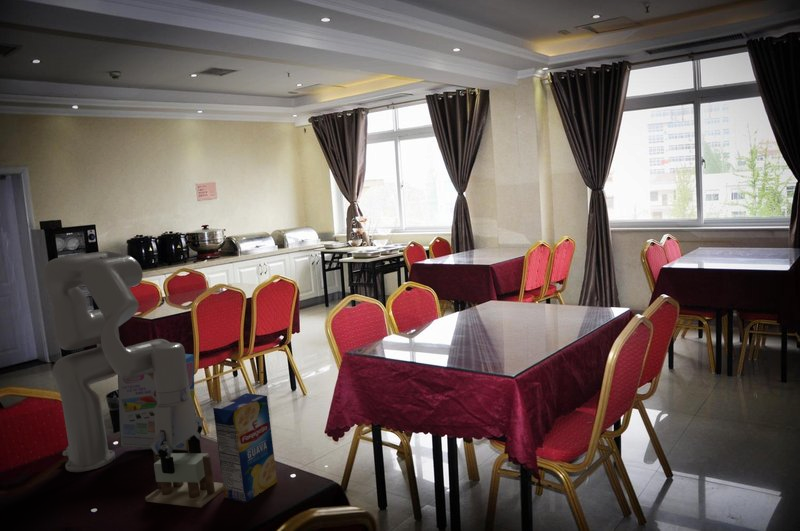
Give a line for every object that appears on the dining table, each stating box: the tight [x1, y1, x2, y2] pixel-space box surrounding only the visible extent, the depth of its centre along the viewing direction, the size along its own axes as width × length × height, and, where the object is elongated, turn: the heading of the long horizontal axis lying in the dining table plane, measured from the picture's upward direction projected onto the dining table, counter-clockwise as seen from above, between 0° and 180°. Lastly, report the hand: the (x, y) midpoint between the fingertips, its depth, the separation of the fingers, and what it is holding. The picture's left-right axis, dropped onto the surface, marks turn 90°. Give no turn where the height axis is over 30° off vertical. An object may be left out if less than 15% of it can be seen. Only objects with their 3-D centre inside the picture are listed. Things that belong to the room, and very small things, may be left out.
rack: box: [145, 453, 224, 508], centre depth 150 cm, size 16×10×10 cm, turn 70°
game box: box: [117, 353, 196, 452], centre depth 179 cm, size 21×6×27 cm, turn 84°
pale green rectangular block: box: [153, 452, 210, 483], centre depth 150 cm, size 11×6×4 cm, turn 78°
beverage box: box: [212, 392, 278, 503], centre depth 149 cm, size 7×11×22 cm, turn 149°
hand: (182, 463), depth 150 cm, fingers open, 9 cm apart
